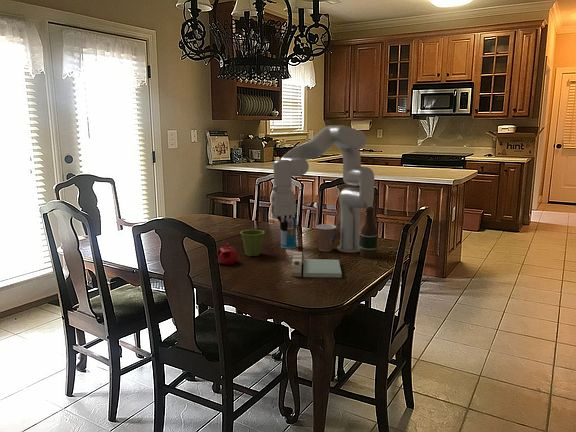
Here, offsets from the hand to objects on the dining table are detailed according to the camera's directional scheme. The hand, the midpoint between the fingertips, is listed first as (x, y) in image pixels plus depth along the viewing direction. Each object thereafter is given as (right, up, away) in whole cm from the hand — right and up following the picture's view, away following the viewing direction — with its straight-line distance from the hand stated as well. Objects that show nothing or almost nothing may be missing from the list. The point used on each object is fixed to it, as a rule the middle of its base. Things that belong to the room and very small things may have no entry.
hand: (284, 230), depth 206 cm
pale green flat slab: (+17, -17, +1) cm, 24 cm away
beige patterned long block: (+6, -17, +2) cm, 18 cm away
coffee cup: (+21, -11, +35) cm, 42 cm away
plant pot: (-15, -13, +25) cm, 32 cm away
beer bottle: (+40, -13, +22) cm, 48 cm away
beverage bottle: (+2, -10, +39) cm, 41 cm away
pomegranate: (-26, -15, +12) cm, 33 cm away
